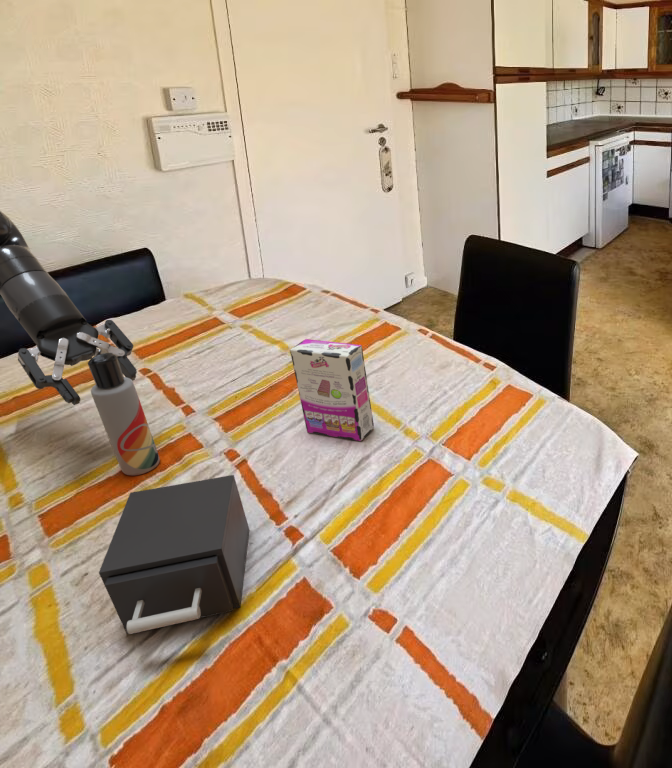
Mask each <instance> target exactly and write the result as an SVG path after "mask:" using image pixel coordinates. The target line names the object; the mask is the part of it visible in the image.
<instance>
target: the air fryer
mask: <svg viewBox="0 0 672 768" xmlns="http://www.w3.org/2000/svg"><path fill="white" fill-rule="evenodd" d="M238 488H239V487H238V484H237V481H236V478H235V475H234V474H231V475H225V476H219V477H213V478H208V479H207V478H206V479H201V480H196V481H190V482H183V483H179V484H172V485H167V486H161V487H155V488H150V489H143V490H138V491H137V490H136V491H133V492H132V491H131V492H129V495H128V497H127V500H126V503H125V505H124V508H123V510H122V513H121V515H120V518H119V521H118V522H117V526H116V528H115V531H114V533H113V536H112V538H111V540H110V543H109V546H108V548H107V551H106V554H105V556H104V558H103V561H102V563H101V565H100V568H99V571H98V574H99V576H100V579H101V581H102V583H103V585H104V586H105V583H106V580H107V578H108V577H113V576H118V575H121V574H123V573H128V572H133V571H138V570H143V569H148V568H153V567H158V566H163V565H168V564H173V563H178V562H183V561H188V560H193V559H198V558H203V557H208V556H213V555H216V556H218V558H219V561H220V564H221V567H222V570H223V573H224V576H225V580H226V583H227V586H228V589H229V592H230V595H231V598H232V601H233V610H234V609H239V608H241V605H242V596H243V589H244V579H245V572H246V571H245V570H246V562H247V554H248V545H249V537H250V527H249V522H248V519H247V515H246V512H245V510H244V509H245V508H244V506H243V502H242V498H241V495H240V492H239V489H238ZM105 589H106V588H105ZM106 591H107V589H106ZM116 614H117V615H118V613H117V612H116ZM122 627H123V628H124V626H123V625H122Z"/></svg>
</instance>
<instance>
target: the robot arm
mask: <svg viewBox="0 0 672 768" xmlns="http://www.w3.org/2000/svg"><path fill="white" fill-rule="evenodd" d="M0 296H1V298H2V299H3V301H4V302H5V305H6V306H7V308H8V310H9V311H10V312H11V314H12V315H13V316H14V317H15V319H16V320H17V321H18V323H19V324H20V325H21V327H22V328H23V329H24V330H25V332H26V333H27V334H28V336H29V337H30V338H31V340H32V341H33V342H34V344H35V345H36V347H33V348H25V347H22V348H20V349H18V354H17V361H18V363H19V364H20V366H21V367H22V369H23V371H24V372H25V373H26V375H27V377H28V378H29V379H30V381H31V382H32V384H33V385H34V386H35V388H36V389H38V390H42V389H45V388H47V387H49V388H50V387H52V388H54V389H55V391H56V392H57V393H58V394H59V395H60V396H61V398H62V399H63V400H64V402H65V403H67V404H72V405H73V406H76V405H78V404H80V403H81V396H80V395H79V393H78V392H77V391H76V390H75V388H74V387H73V386H72V385H71V384H70V382H69V381H68V380H67V378H63V374H64V368H65V366H70V367H73V366H75V365H77V364H79V363H80V362H85V361H89V360H90V359H91V358H93V357H94V356H96V355H99V354H103V353H112V354H113V355H115V356H116V357H117V359H118V362H119V365H120V368H121V371H122V373H123V376H124V377H127V378H130V379H131V380H132V381H133V382H134V381H136V378H137V373H138V371H137V368H136V367H135V366H134V364H133V363H132V361H131V360H130V359H129V358H128V356H131V354H132V351H133V349H134V343H132V341H131V340H130V339H129V338H128V337H127V335H126V334H125V333H124V332H123V331H122V330H121V329H120V327H119V326H118V325H117V324H116V323H115V322H114V321H113V320H112V319H106V320H105V321H104V324H101V325H98V326H96V327H94V326H92V325H91V324H89V323H88V321H87V319H86V318H85V317H84V315H83V314H82V312H81V311H80V309H78V307H77V306H76V305H75V303H74V302H73V300H72V299H71V298H70V297H69V295H68V293H67V292H66V291H65V290H64V289H63V288H62V287H61V286H60V284H59V283H58V282H57V281H56V280H55V278H53V277H52V276H51V275H50V274H49V272H48V270H46V268H45V267H44V265H43V264H42V263H41V262H40V260H39V259H38V258H37V257H36V256H35V254H34V253H33V252H32V251H31V249H30V247H29V244H28V243H27V241H26V240H25V238H24V236H23V234H22V232H21V231H20V230H19V228H18V227H17V226H16V224H15V223H14V222H13V221H12V219H11V218H9V216H7V215H6V214H5V213H4V212H2V211H1V210H0ZM99 336H103V337H104V338H105V339H110V341H111V342H112V343H113V345H115V346H116V347H115V346H113V345H112V344H111V343H109V342H107V341H104V340H101V339H99ZM39 356H41V357H43V358H46V359H47V360H50V361H53V362H54V363H53V369H52V373H51V374H48V375H46V374H45V373H44V372H43V370H42V368H41V367H40V366H39V364H38V362H39Z"/></svg>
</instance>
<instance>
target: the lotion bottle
mask: <svg viewBox="0 0 672 768" xmlns="http://www.w3.org/2000/svg"><path fill="white" fill-rule="evenodd" d="M87 366H88V368H89V371H90V373H91V376H92V378H93V381H94V383H95V384H94V385H93V386H92V387H91V389H90V393H91V397H92V399H93V402H94V404H95V407H96V409H97V412H98V415H99V417H100V420H101V422H102V426H103V427H104V430H105V433H106V435H107V438H108V440H109V443H110V445H111V448H112V451H113V453H114V455H115V458H116V461H117V463H118V466H119V468H120V470H121V472H122V473H123V474H124V475H127V476H139V475H143V474H146V473H149V472H151V471H152V470H154V469H155V468H156V467H158V466H159V464H160V462H161V460H160V455H159V451H158V449H157V445H156V442H155V440H154V438H153V434H152V431H151V429H150V425H149V423H148V421H147V417H146V414H145V412H144V409H143V406H142V402H141V400H140V397H139V395H138V391H137V389H136V385H135V383H134V381H132V380H131V379H130V378H127V377H125V376H124V375H123V373H122V371H121V368H120V365H119V362H118V359H117V357H116V356H115V355H113V354H112V353H103V354H99V355H96V356H93V357H92V358H91V359H89V360H88V362H87Z"/></svg>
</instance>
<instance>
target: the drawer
mask: <svg viewBox="0 0 672 768" xmlns="http://www.w3.org/2000/svg"><path fill="white" fill-rule="evenodd" d="M104 588H105V589H107V590H106V591H107V594H108V596H109V598H110V600H111V602H112V603H111V604H112V605H113V607H114V609H115V611H116V614H117V613H118V614H117V615H118V618H119V621H120V622H121V624H122V627H123V626H124V627H123V629H124V631H125V633H126V635H131V634H136V633H140V632H141V633H142V632H145V631H149V630H154V629H159V628H163V627H168V626H172V625H177V624H181V623H186V622H190V621H195V620H199V619H201V618H207V617H211V616H216V615H220V614H224V613H229V612H232V611H233V610H234V609H233V601H232V598H231V595H230V592H229V589H228V586H227V583H226V580H225V576H224V573H223V570H222V567H221V564H220V561H219V558H218V556H216V555H213V556H208V557H203V558H198V559H193V560H188V561H183V562H178V563H173V564H168V565H163V566H158V567H153V568H148V569H143V570H138V571H133V572H128V573H123V574H121V575H118V576H113V577H108V578H107V580H106V583H105V585H104Z"/></svg>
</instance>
